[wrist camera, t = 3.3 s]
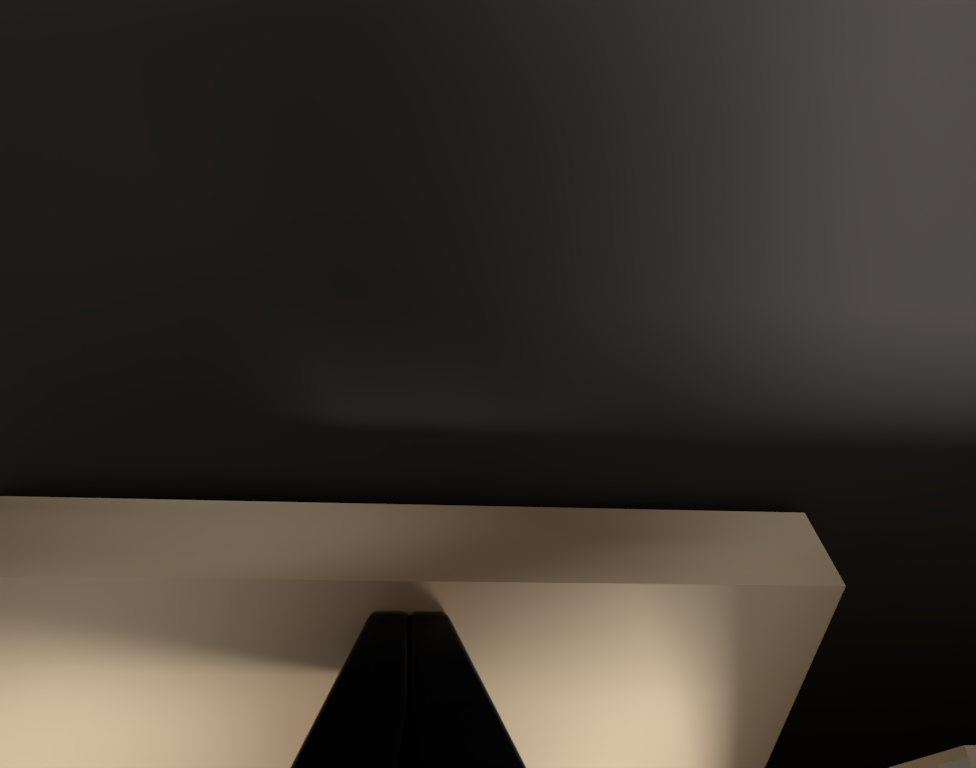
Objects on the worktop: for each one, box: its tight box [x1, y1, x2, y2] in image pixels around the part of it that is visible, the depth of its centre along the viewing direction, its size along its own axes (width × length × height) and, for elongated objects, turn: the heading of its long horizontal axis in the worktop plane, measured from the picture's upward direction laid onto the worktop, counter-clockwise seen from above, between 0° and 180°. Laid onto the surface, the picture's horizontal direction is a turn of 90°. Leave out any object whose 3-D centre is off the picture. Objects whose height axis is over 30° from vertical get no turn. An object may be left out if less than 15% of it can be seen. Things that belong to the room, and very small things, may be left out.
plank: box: [0, 496, 846, 768], centre depth 11 cm, size 10×7×1 cm
